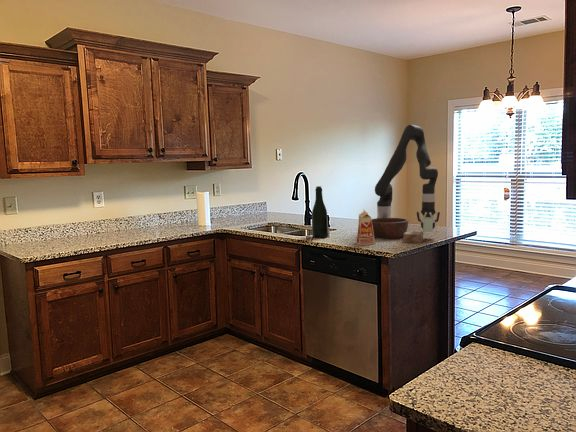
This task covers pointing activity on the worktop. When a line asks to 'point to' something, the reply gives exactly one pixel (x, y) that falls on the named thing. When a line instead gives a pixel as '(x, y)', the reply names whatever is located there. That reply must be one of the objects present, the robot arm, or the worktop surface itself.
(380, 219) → the wooden bowl
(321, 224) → the beer bottle
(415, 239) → the walnut block
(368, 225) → the milk carton
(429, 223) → the canister
